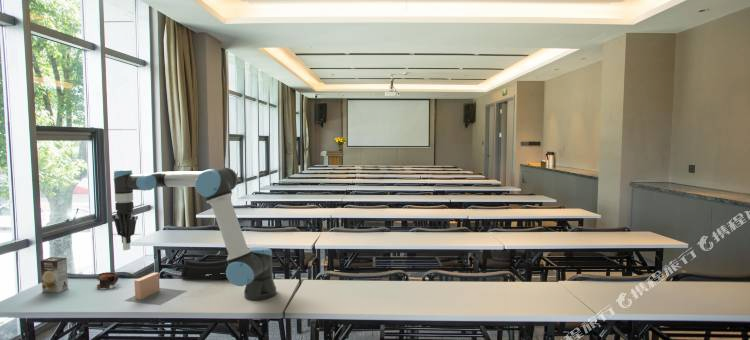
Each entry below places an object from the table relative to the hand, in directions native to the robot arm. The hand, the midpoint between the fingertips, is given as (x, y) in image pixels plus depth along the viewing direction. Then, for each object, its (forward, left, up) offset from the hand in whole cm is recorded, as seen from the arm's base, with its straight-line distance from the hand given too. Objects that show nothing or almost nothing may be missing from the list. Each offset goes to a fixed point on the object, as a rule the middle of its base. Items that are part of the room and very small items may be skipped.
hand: (126, 249), depth 204 cm
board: (-11, 0, -22) cm, 24 cm away
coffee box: (+40, +5, -22) cm, 46 cm away
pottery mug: (+19, -6, -23) cm, 30 cm away
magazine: (-25, -29, -23) cm, 44 cm away
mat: (-16, 0, -22) cm, 27 cm away
